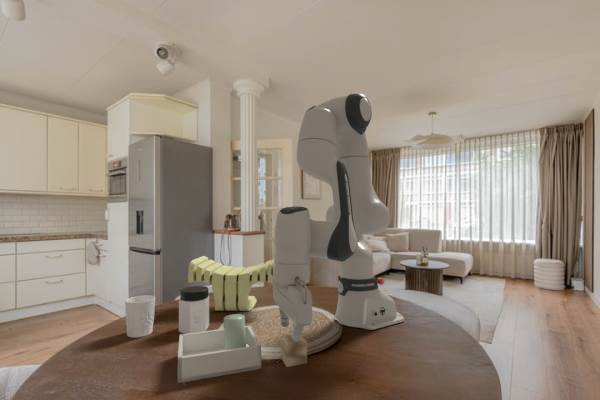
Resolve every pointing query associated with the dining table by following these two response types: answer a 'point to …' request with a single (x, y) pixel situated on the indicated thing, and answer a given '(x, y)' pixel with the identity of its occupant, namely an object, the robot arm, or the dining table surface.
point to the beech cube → (293, 351)
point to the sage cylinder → (234, 331)
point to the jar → (193, 309)
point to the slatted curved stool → (230, 282)
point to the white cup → (139, 315)
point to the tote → (215, 355)
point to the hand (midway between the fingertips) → (290, 332)
